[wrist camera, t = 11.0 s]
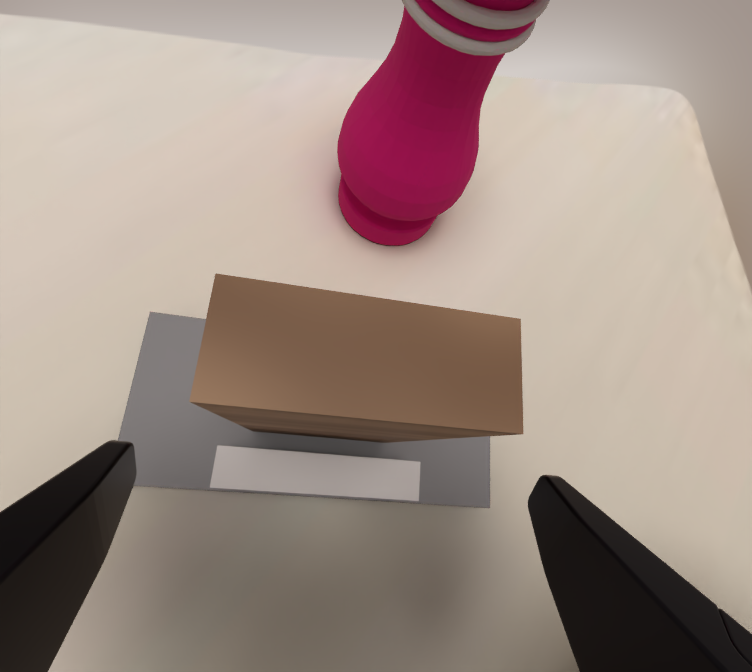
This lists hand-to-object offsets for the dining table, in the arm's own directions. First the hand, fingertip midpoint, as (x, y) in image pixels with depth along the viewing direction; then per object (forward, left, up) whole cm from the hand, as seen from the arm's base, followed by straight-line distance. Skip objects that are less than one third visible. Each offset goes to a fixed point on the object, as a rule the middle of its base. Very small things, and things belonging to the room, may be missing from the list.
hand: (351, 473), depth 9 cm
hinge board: (+2, -2, -12) cm, 13 cm away
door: (+2, -2, -11) cm, 12 cm away
